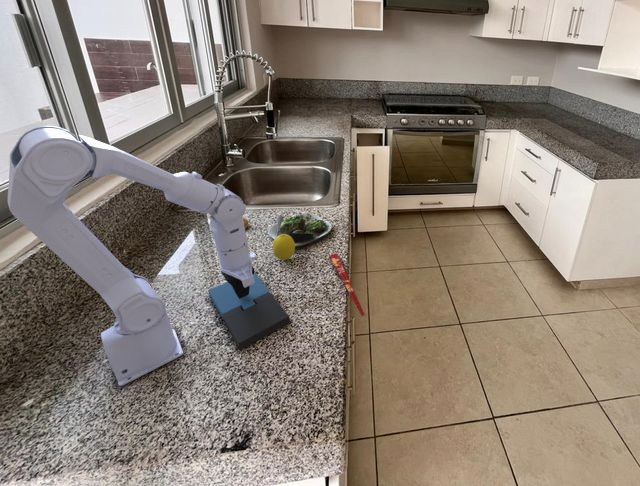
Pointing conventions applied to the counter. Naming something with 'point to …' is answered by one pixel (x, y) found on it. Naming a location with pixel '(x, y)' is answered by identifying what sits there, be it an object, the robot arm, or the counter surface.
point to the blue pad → (229, 300)
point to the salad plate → (302, 229)
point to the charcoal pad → (255, 320)
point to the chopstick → (346, 281)
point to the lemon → (283, 247)
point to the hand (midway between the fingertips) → (243, 295)
